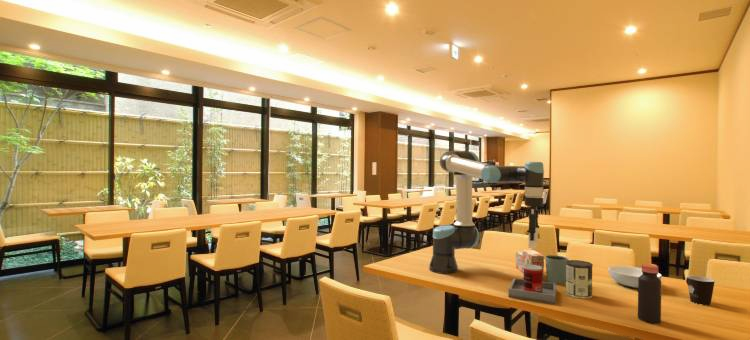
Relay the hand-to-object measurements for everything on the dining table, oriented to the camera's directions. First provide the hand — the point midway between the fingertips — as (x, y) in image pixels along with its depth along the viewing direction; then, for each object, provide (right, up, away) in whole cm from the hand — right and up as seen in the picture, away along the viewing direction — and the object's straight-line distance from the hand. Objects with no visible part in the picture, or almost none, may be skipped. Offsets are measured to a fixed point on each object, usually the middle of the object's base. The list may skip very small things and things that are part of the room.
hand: (533, 245), depth 162 cm
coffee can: (+20, -22, 0) cm, 30 cm away
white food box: (+12, -22, +32) cm, 40 cm away
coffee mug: (+67, -22, -7) cm, 71 cm away
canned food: (0, -21, 0) cm, 21 cm away
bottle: (+31, -22, -27) cm, 47 cm away
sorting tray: (0, -22, 0) cm, 22 cm away
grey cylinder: (+19, -22, +18) cm, 34 cm away
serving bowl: (+54, -22, +14) cm, 60 cm away
